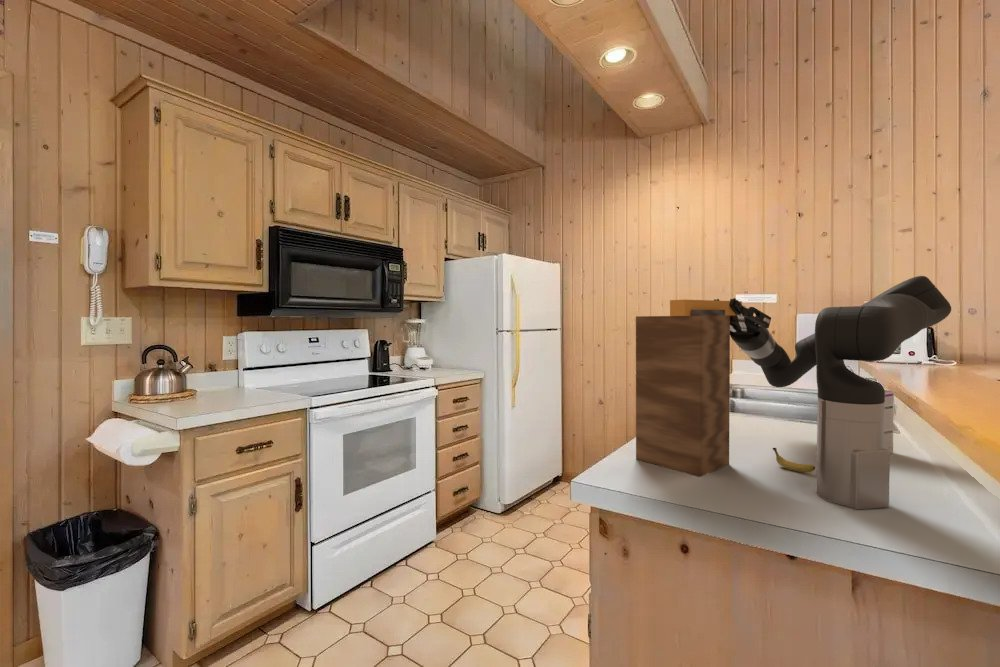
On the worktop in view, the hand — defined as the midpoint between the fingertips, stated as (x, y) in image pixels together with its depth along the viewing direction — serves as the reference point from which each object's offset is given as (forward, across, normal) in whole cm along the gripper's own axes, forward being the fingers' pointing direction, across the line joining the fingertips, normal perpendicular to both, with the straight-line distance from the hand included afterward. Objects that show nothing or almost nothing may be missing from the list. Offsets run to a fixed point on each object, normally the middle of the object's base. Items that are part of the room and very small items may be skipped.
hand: (723, 302), depth 104 cm
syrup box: (-44, -20, -15) cm, 51 cm away
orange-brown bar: (+4, 0, -6) cm, 7 cm away
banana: (-19, -14, -30) cm, 38 cm away
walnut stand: (-8, +4, -36) cm, 37 cm away
